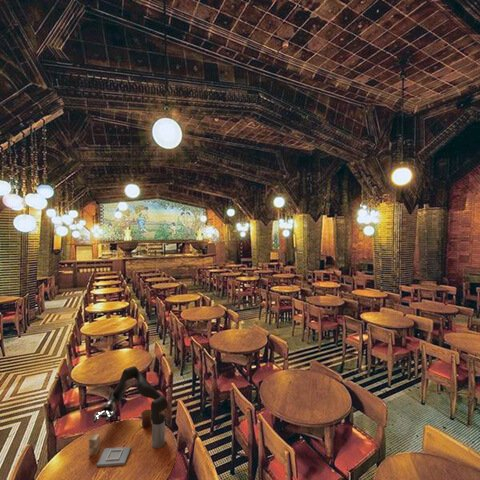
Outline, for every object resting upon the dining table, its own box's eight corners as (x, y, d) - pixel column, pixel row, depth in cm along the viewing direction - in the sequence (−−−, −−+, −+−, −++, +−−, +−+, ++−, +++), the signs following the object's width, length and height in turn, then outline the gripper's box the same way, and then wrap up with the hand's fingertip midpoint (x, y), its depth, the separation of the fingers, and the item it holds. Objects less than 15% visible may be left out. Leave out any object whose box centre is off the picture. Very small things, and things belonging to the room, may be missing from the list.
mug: (142, 430, 216) (142, 417, 216) (140, 423, 223) (140, 411, 223) (157, 424, 223) (157, 412, 222) (154, 418, 230) (154, 406, 230)
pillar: (99, 449, 197) (99, 434, 196) (96, 454, 192) (96, 439, 192) (92, 449, 196) (92, 434, 196) (89, 455, 191) (89, 439, 191)
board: (130, 448, 197) (130, 445, 197) (124, 464, 183) (124, 461, 183) (105, 450, 196) (105, 447, 196) (96, 466, 182) (96, 463, 182)
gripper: (99, 403, 220) (90, 417, 204) (117, 403, 222) (110, 416, 206) (99, 412, 220) (90, 427, 204) (117, 412, 222) (110, 426, 206)
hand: (100, 421), depth 205 cm, fingers open, 8 cm apart
